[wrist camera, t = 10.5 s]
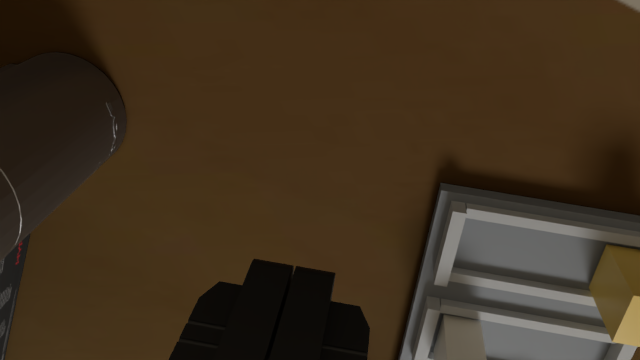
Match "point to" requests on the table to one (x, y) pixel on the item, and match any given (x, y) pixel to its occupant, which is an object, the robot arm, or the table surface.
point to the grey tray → (516, 276)
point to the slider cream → (459, 339)
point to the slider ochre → (619, 293)
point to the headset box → (10, 289)
